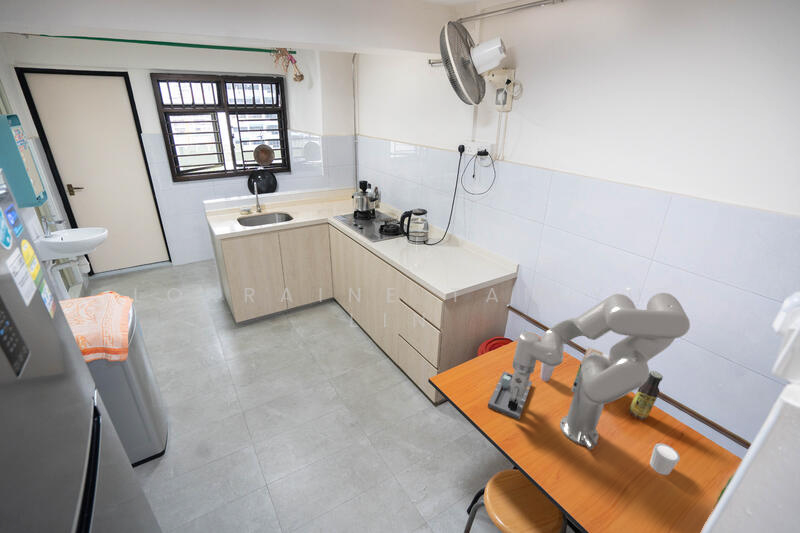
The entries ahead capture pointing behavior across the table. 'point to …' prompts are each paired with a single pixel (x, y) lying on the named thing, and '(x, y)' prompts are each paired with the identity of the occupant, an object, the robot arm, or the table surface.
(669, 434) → the table surface
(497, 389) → the console
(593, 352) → the pale thin bent piece
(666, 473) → the white short cylinder
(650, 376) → the sauce bottle
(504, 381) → the fader teal
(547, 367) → the smoothie
